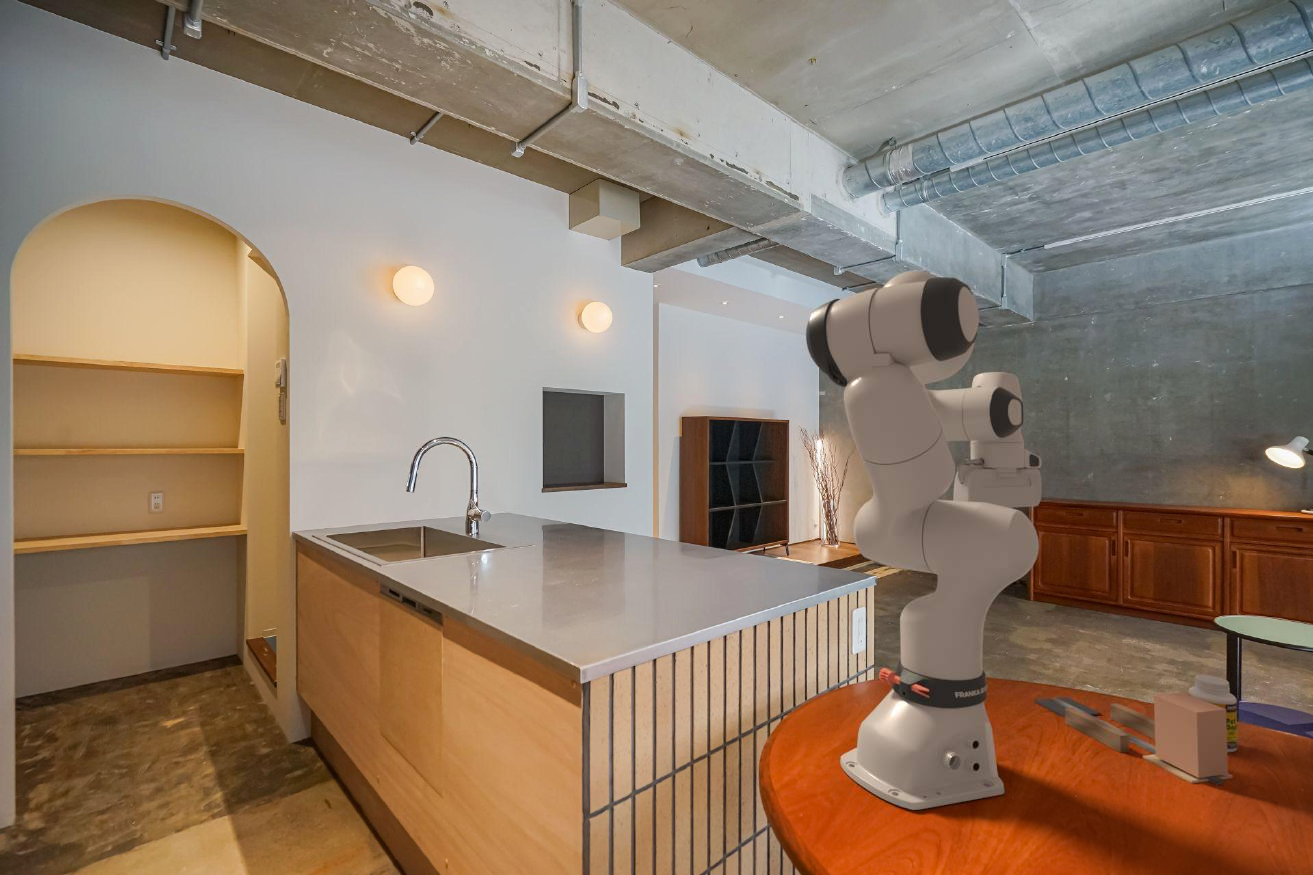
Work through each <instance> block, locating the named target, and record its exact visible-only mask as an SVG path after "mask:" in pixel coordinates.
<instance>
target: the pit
mask: <svg viewBox="0 0 1313 875" xmlns="http://www.w3.org/2000/svg"><path fill="white" fill-rule="evenodd" d="M1056 698H1057V699H1059V700H1061V701H1064V702H1066V703H1068V704H1070V705H1072V706H1074V707H1076V708H1078V709H1080V710H1082V711H1084V712H1086V713H1088V714H1090V715H1092V716H1094V717H1095V716H1101V715H1102V712H1100V711H1097V710H1095V709H1093V708H1091V707H1089V706H1087V705H1084V703H1083V704H1082V703H1081V702H1079V701H1076V700H1075V699H1073V698H1071V697H1068V696H1061V697H1056ZM1033 702H1034V703H1036V704H1037V705H1039V706H1040V707H1041V706H1042V707H1044V708H1046V709H1048V710H1050V711H1051V712H1053V713H1055V714H1057V715H1059V716H1060V717H1063V718H1065V707H1063V706H1061V705H1059V704H1057V703H1055V702H1053V701H1051V700H1050V698H1040V699H1034V700H1033Z"/></svg>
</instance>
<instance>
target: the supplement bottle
mask: <svg viewBox="0 0 1313 875" xmlns="http://www.w3.org/2000/svg"><path fill="white" fill-rule="evenodd" d="M1230 691H1231V688H1230V682H1229V681H1228V680H1226V679H1224V678H1221V677H1218V676H1215V675H1209V674H1197V675H1195V676H1194V686H1191V687H1189V689H1188V695H1190V696H1193V697H1195V698H1198V699H1200V700H1203V701H1206V702H1208V703H1211V704H1214V705H1216V706H1219V707H1221V708H1224V709H1226V724H1227V753H1232V752H1236V751H1237V749H1238V748H1239V747H1238V743H1239V742H1238V702H1237V701H1238V700H1237V698H1236V696H1235V695H1234V694H1232V693H1230ZM1233 722H1234V723H1233Z"/></svg>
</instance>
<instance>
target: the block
mask: <svg viewBox="0 0 1313 875" xmlns="http://www.w3.org/2000/svg"><path fill="white" fill-rule="evenodd" d="M1153 702H1154V703H1153V706H1154V707H1153V708H1154V710H1153V711H1154V712H1153V713H1154V720H1155V740H1154V746H1155V754H1156V757H1158V758H1160V759H1162V760H1164V761H1166V762H1168V763H1170V764H1172V765H1174V766H1176V767H1178V768H1180V769H1182V770H1184V771H1186V772H1188V773H1190V774H1192V775H1194V776H1196V777H1198V778H1202V777H1209V776H1217V775H1224V774H1229V772H1228V771H1229V769H1228V767H1229V766H1228V752H1227V724H1226V709H1224V708H1221V707H1219V706H1216V705H1214V704H1211V703H1208V702H1206V701H1203V700H1200V699H1198V698H1195V697H1193V696H1190V695H1189V694H1187V693H1185V692H1173V693H1164V694H1163V693H1162V694H1154V695H1153Z"/></svg>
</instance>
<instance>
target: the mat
mask: <svg viewBox="0 0 1313 875" xmlns="http://www.w3.org/2000/svg"><path fill="white" fill-rule="evenodd" d="M1142 759H1144V760H1146V761H1148V762H1150V763H1151V764H1154V765H1155V766H1158V767H1159V768H1160V769H1163V770H1165V771H1167V772H1169V773H1171V774H1173V775H1175V776H1177V777H1179V778H1180V779H1183V780H1184V781H1186V782H1189V783H1190V784H1196V783H1204V782H1210V781H1209V779H1208V778H1206V777H1202V778H1198V777H1196V776H1194V775H1192V774H1190V773H1188V772H1186V771H1184V770H1182V769H1180V768H1178V767H1176V766H1174V765H1172V764H1170V763H1168V762H1166V761H1164V760H1162V759H1160V758H1158V757H1156V754H1154V753H1153V754H1148V755H1146V754H1145V755H1142ZM1217 777H1219V778H1221V779H1224V780H1226V779H1232V778H1233V777H1234V775H1232V774H1230V773H1228V774H1224V775H1217Z"/></svg>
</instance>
